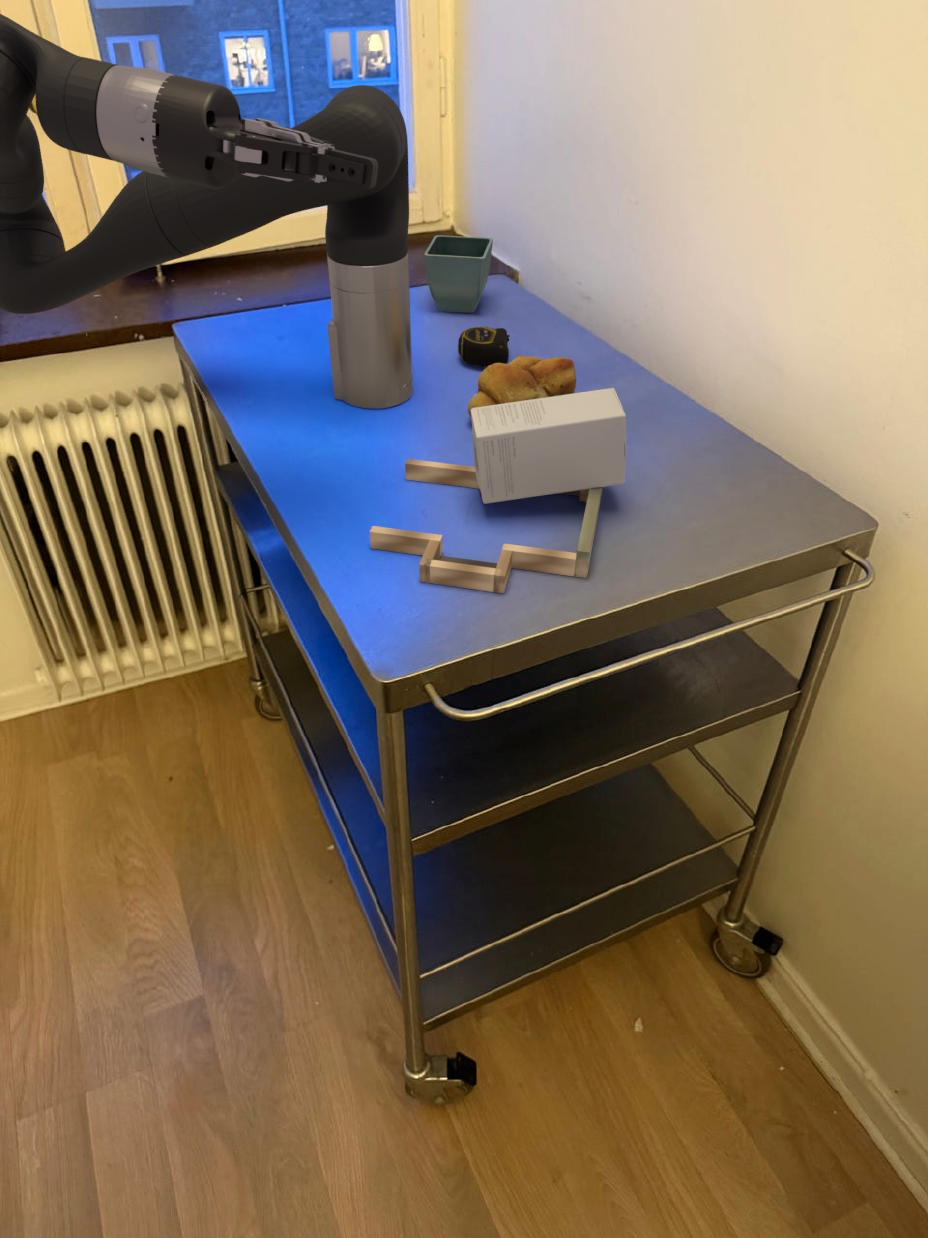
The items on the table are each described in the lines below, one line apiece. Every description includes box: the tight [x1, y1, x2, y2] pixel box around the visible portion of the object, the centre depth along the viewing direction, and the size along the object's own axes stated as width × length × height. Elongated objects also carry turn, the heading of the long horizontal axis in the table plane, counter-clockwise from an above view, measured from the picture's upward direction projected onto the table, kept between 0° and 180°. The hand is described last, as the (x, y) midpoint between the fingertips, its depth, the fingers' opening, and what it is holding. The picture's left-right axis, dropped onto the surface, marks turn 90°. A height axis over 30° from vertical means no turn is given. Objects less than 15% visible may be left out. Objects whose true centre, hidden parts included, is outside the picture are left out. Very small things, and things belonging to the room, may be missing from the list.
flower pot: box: [423, 234, 494, 314], centre depth 130 cm, size 9×9×9 cm
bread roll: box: [467, 355, 577, 419], centre depth 104 cm, size 13×10×8 cm
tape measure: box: [457, 326, 510, 368], centre depth 118 cm, size 7×7×4 cm
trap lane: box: [369, 458, 604, 594], centre depth 90 cm, size 21×24×3 cm
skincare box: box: [470, 387, 627, 505], centre depth 88 cm, size 8×6×15 cm
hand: (374, 175), depth 70 cm, fingers closed
